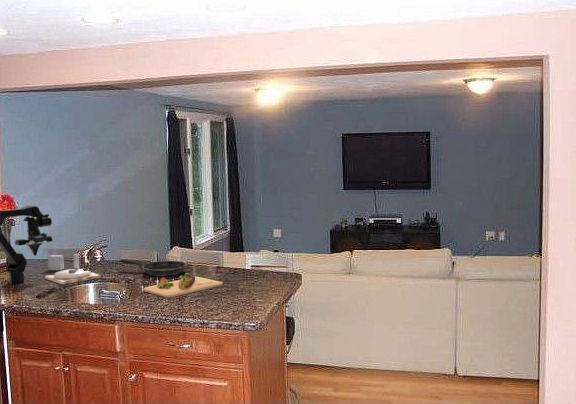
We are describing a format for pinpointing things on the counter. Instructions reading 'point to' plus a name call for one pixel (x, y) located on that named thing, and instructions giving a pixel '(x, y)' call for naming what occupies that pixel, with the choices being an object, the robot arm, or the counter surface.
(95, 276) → the dial base
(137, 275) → the counter surface
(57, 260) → the medicine box
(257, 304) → the counter surface
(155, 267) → the frying pan
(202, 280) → the cutting board
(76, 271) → the white base with post
